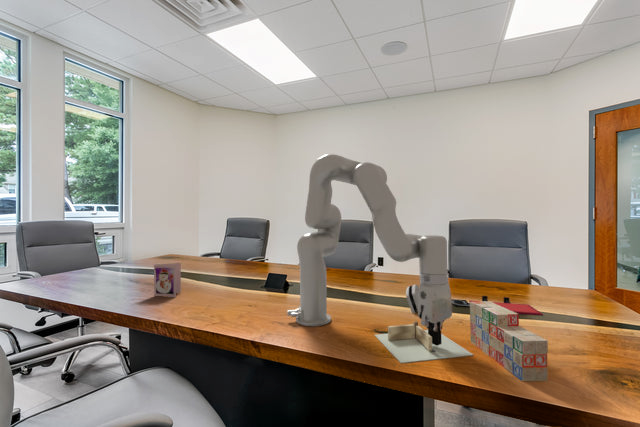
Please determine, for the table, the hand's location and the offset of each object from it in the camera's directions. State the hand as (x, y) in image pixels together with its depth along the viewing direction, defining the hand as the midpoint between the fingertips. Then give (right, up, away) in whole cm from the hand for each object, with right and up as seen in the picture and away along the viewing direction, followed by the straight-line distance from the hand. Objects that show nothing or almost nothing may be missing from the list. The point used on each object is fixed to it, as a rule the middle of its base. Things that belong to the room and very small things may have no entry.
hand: (434, 343), depth 84 cm
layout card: (-4, -1, +2) cm, 4 cm away
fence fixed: (-7, -1, +5) cm, 9 cm away
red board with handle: (+38, -2, +37) cm, 53 cm away
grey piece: (+7, -2, +37) cm, 38 cm away
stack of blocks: (+16, -2, -7) cm, 17 cm away
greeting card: (-105, -3, +57) cm, 120 cm away
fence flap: (-3, -1, +1) cm, 3 cm away
